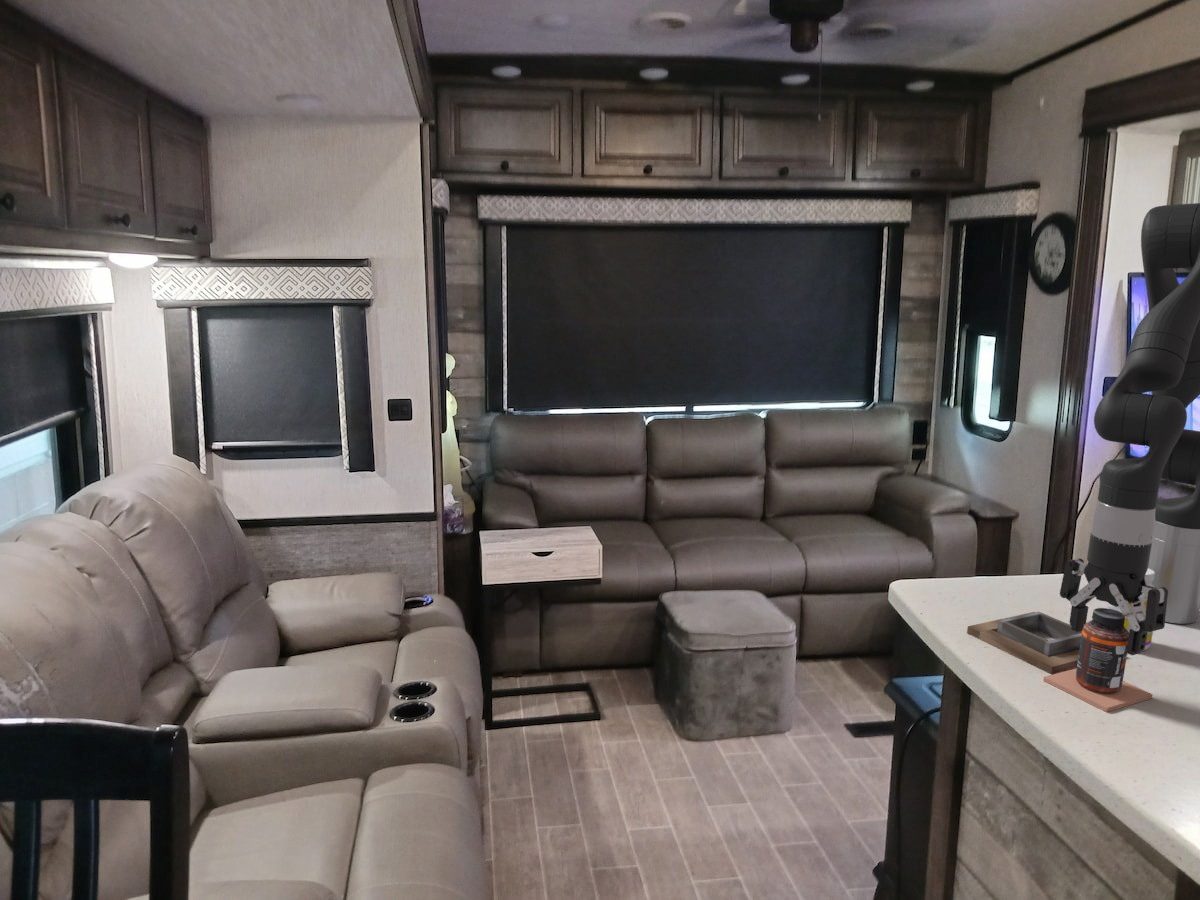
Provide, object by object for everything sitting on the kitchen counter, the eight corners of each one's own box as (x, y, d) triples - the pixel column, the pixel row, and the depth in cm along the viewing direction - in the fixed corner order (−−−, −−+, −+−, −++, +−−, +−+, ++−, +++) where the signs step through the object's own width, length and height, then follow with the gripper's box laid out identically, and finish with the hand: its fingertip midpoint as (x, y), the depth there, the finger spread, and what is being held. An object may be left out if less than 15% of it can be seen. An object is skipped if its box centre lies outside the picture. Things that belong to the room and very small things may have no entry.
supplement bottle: (1127, 697, 125) (1140, 623, 123) (1082, 692, 127) (1093, 619, 124) (1112, 678, 131) (1124, 607, 129) (1069, 673, 132) (1080, 603, 130)
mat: (1088, 668, 135) (1088, 665, 135) (1152, 698, 127) (1152, 694, 127) (1043, 680, 131) (1043, 676, 131) (1106, 711, 122) (1106, 708, 122)
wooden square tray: (1033, 618, 154) (1035, 602, 154) (1120, 655, 140) (1123, 638, 140) (967, 632, 147) (969, 616, 147) (1051, 674, 133) (1053, 655, 133)
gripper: (1189, 546, 119) (1170, 657, 123) (1092, 517, 132) (1077, 619, 135) (1154, 553, 116) (1135, 667, 120) (1058, 523, 128) (1043, 626, 132)
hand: (1104, 641), depth 127 cm, fingers open, 8 cm apart
